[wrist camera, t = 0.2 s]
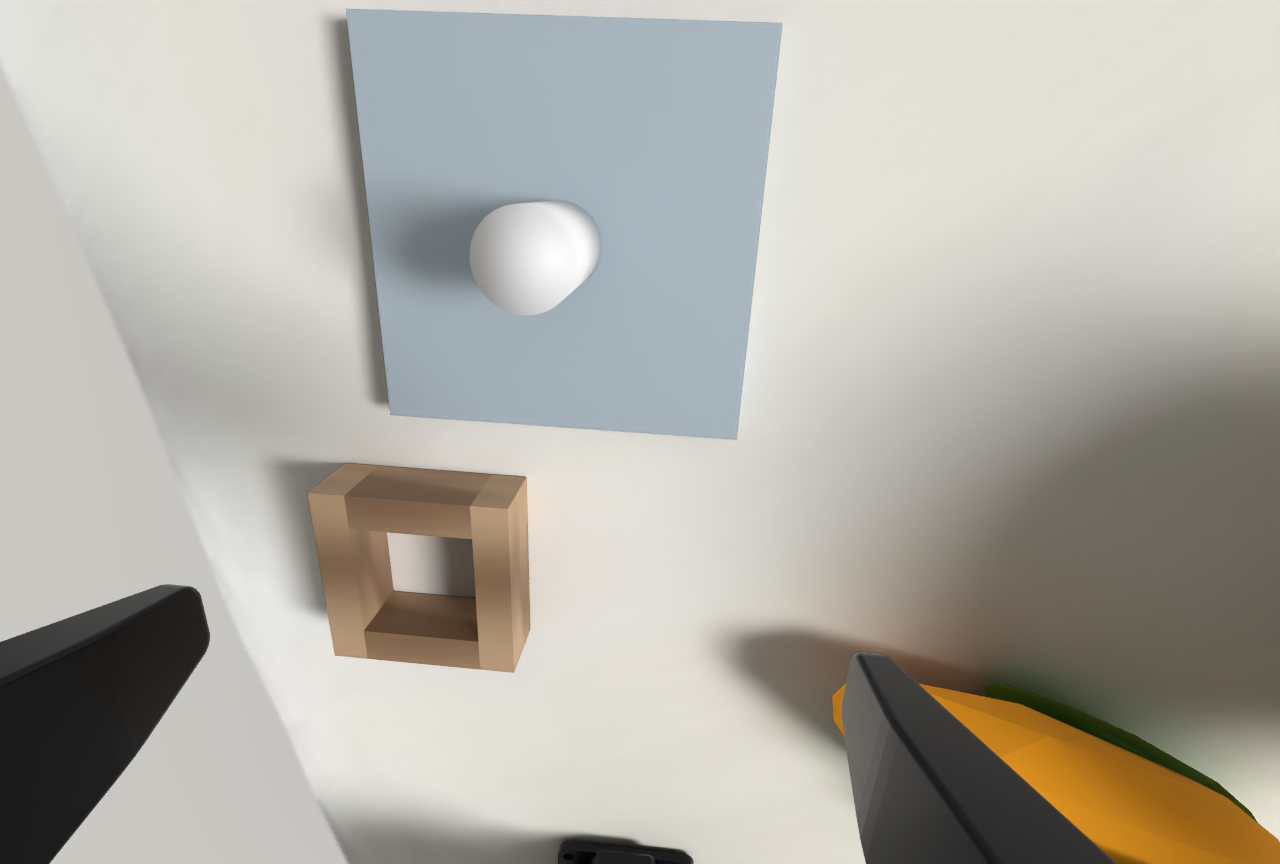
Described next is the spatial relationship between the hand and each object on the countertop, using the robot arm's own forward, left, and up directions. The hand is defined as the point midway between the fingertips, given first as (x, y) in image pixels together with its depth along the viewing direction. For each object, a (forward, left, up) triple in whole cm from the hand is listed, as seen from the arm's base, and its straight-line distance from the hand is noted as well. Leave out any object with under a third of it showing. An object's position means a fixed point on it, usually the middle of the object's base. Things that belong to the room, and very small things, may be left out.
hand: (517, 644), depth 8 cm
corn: (-15, -17, -14) cm, 27 cm away
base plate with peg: (+4, +2, -14) cm, 15 cm away
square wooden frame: (-8, +7, -14) cm, 18 cm away
